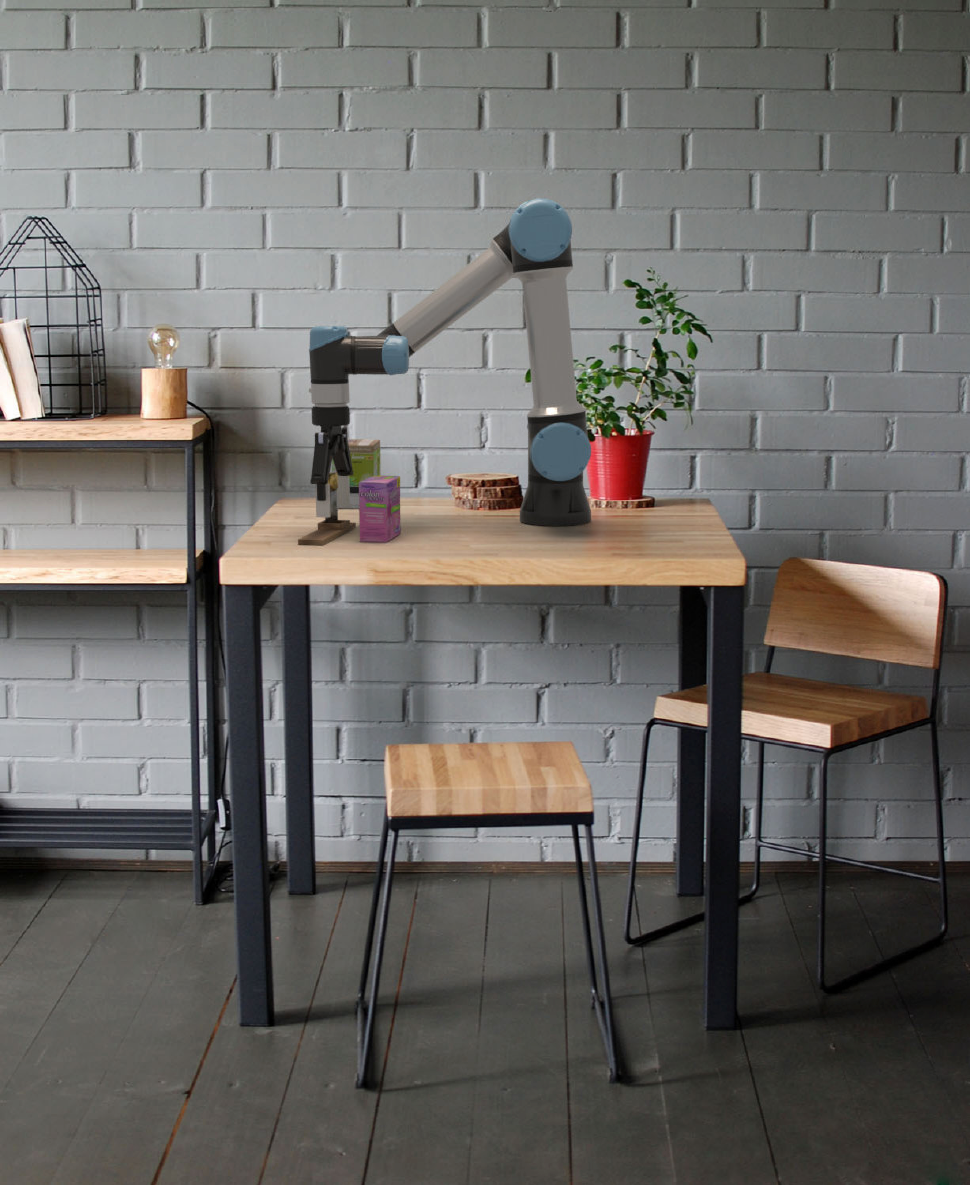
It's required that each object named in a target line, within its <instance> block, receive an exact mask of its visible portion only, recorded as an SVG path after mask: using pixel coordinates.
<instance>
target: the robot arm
mask: <svg viewBox="0 0 970 1185" xmlns="http://www.w3.org/2000/svg"><path fill="white" fill-rule="evenodd" d="M571 221H572V220H571V218H570V215H569V214H568V213H567V211H566V210H565V208H564V207H563V206H561V205H560V203H558V202H556V201H555V200H552V199H548V198H545V197H544V198H535V199H529V200H527V201H525V202H523V203H521V204H520V205H519V206H518V207H517V208H516V209H515V210H514V212H513V214H512V215H511V217H510V219H509V223H508V224H507V225H506V226H505V227H504V229H502V230H501V231H500V232H498V234H497V235H495V236H493V237H492V239H490V244H489V247H488V248H486V250H484V251H483V252H481V254H479V255H478V256H477V257H475V258H474V259H473V260H471V262H469V263H468V264H466V265H465V266H464V267H462V268H461V269H460V270H459V271H458V272H456V273H455V274H454V275H452V276H451V277H450V278H449V279H447V280H446V281H445V282H443V283H442V284H441V285H439V286H438V287H437V288H436V289H434V290H433V291H432V292H431V293H430V294H428V295H427V296H425V297H424V298H423V299H421V301H419V302H418V303H416V304H415V305H414V306H413V307H411V309H409V310H408V311H406V312H405V313H404V314H403V315H402V316H400V317H399V318H398V319H396V320H395V321H394V322H393V323H392V324H390V325H389V326H387V327H386V328H384V329H383V330H382V331H381V332H380V333H378V334H377V335H363V336H362V335H361V336H360V335H359V336H358V335H357V336H356V335H349V333H348V332H349V331H348V328H347V327H346V326H345V325H319V326H317V325H316V326H313V327H311V329H310V331H309V349H308V353H309V372H310V373H309V375H310V388H309V389H308V392H309V393H310V397H311V403H312V404H313V405H314V406H312V407H311V424H312V425H313V426H315V427H319V428H320V432H315V433H314V449H313V458H312V467H311V476H310V479H309V480H310V485H315V489H314V490H315V513H316V514H315V515H316V516H315V517H316V518H325V517H331V510H330V484H327V483H328V479H329V473H330V472H331V469H332V458H333V461H334V465H335V468H336V471H337V473H338V475H339V476H338V488H337V502H338V509H351V508H350V487H349V476H348V475H353V473H354V472H353V470H352V469H353V468H352V462H351V456H350V450H349V445H348V439H349V438H348V427H343V426H348V425H349V424H350V423H351V418H350V417H351V416H350V415H351V412H350V411H351V409H350V407H349V405H348V404H349V403H350V383H349V382H350V381H349V379H350V378H349V377H350V376H349V375H353V376H355V375H375V376H376V375H381V376H382V375H387V376H388V375H389V376H395V375H405V374H406V373H408V372H409V369H410V368H409V367H410V357H412V356H413V355H414V354H415V353H417V351H419V350H420V349H421V348H423V347H424V346H425V345H427V344H429V342H430V341H432V340H433V339H435V338H436V337H438V335H440V334H441V333H443V332H444V331H445V330H446V329H448V328H449V327H450V326H451V325H453V324H454V323H455V322H457V321H458V320H460V318H462V317H463V316H464V315H466V314H467V313H468V312H469V311H471V310H472V309H473V308H475V307H476V306H477V305H479V304H480V303H481V302H483V301H484V300H485V299H486V298H488V297H489V296H490V295H491V294H493V293H494V292H496V291H497V290H498V289H499V288H501V287H502V286H504V285H505V284H506V283H508V281H509V280H511V279H518V280H519V281H520V283H521V285H522V286H521V287H522V297H523V304H524V306H523V307H524V316H525V326H526V338H527V348H528V358H529V359H528V360H529V369H530V380H531V389H532V390H531V391H532V392H531V393H532V401H533V407H532V408H531V409H530V410H529V412H528V413H527V414H526V417H527V418H526V419H527V425H526V428H527V487H526V491H525V493H524V496H523V500H522V502H521V505H520V509H519V521H520V522H521V523H523V524H527V525H535V526H536V525H537V526H550V527H551V526H552V527H553V526H554V527H556V526H558V527H559V526H563V527H565V526H575V525H576V526H577V525H584V524H588V523H590V522H591V521H592V509H591V506H590V503H589V499H588V496H587V494H586V490H585V487H584V471H585V469H586V467H587V466H588V464H589V461H590V460H591V456H592V445H591V443H590V439H589V436H588V426H587V425H588V424H587V417H586V416H587V415H586V414H587V412H586V408H585V407H583V405H581V404H580V403H579V401H577V389H576V378H575V367H574V355H573V354H574V353H573V343H572V342H573V341H572V332H571V331H572V329H571V321H570V308H569V297H568V296H569V295H568V286H567V277H568V275H569V274H570V273H571V272H572V270H573V269H574V266H573V254H572V252H573V251H572V241H571V239H572V235H573V226H572V222H571Z"/></svg>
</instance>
